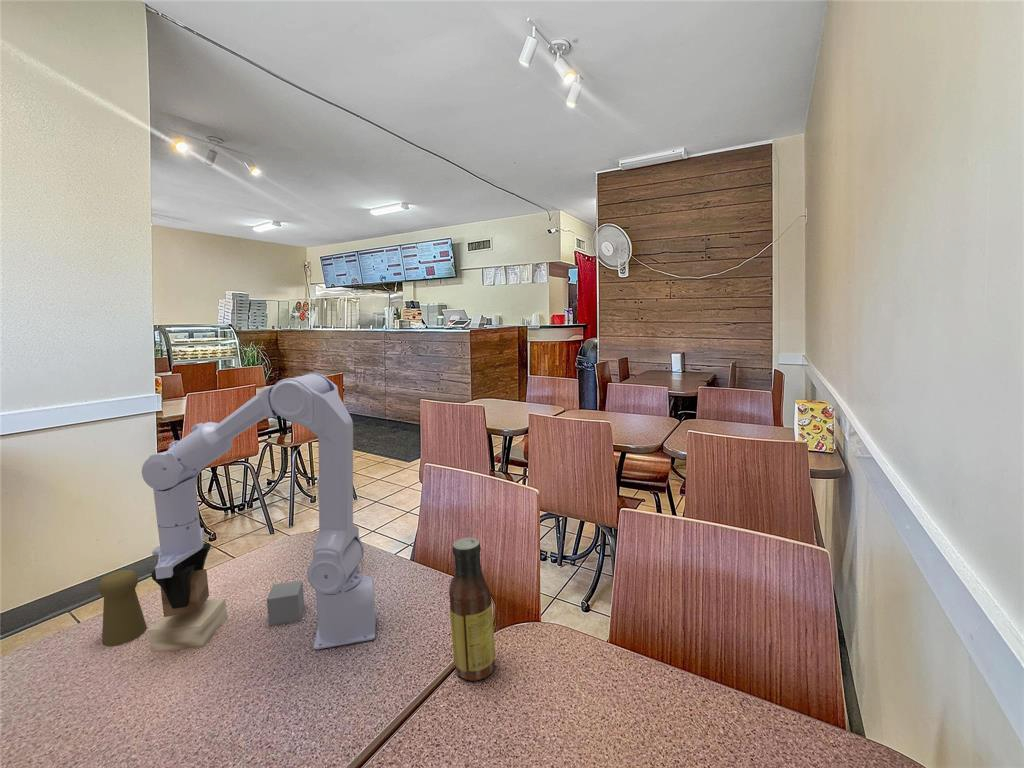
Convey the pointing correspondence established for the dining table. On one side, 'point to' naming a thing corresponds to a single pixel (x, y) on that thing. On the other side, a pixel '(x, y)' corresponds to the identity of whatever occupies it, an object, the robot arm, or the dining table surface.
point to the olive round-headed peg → (121, 608)
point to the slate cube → (285, 603)
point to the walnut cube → (196, 597)
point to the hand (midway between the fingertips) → (187, 597)
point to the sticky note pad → (188, 627)
